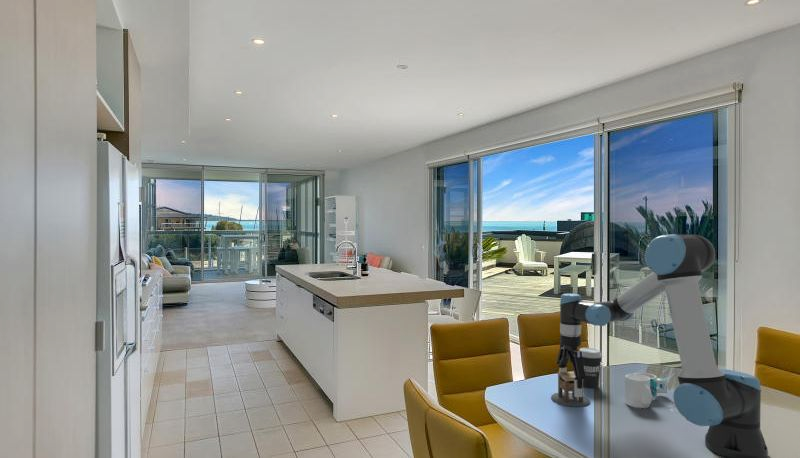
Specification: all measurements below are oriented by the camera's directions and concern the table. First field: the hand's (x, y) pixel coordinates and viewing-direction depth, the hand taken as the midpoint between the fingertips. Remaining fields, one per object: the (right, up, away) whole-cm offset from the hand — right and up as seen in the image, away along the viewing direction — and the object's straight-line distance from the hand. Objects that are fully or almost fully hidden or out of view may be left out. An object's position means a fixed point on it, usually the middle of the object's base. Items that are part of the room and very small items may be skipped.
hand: (570, 390), depth 180 cm
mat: (0, -4, 0) cm, 4 cm away
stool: (0, -3, 0) cm, 3 cm away
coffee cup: (+14, -4, +16) cm, 22 cm away
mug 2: (+33, -4, +4) cm, 33 cm away
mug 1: (+24, -4, -6) cm, 25 cm away
